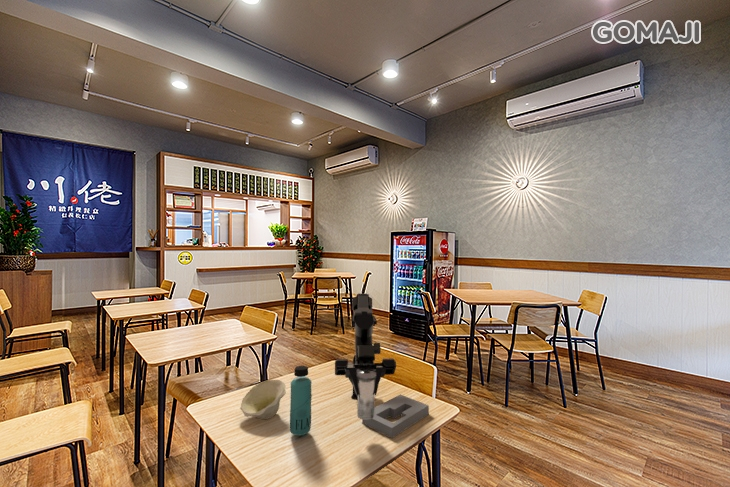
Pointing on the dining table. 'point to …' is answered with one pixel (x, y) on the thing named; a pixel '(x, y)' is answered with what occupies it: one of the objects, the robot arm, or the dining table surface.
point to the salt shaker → (366, 392)
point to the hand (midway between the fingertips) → (366, 394)
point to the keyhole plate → (394, 408)
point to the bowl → (263, 399)
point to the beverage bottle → (300, 402)
